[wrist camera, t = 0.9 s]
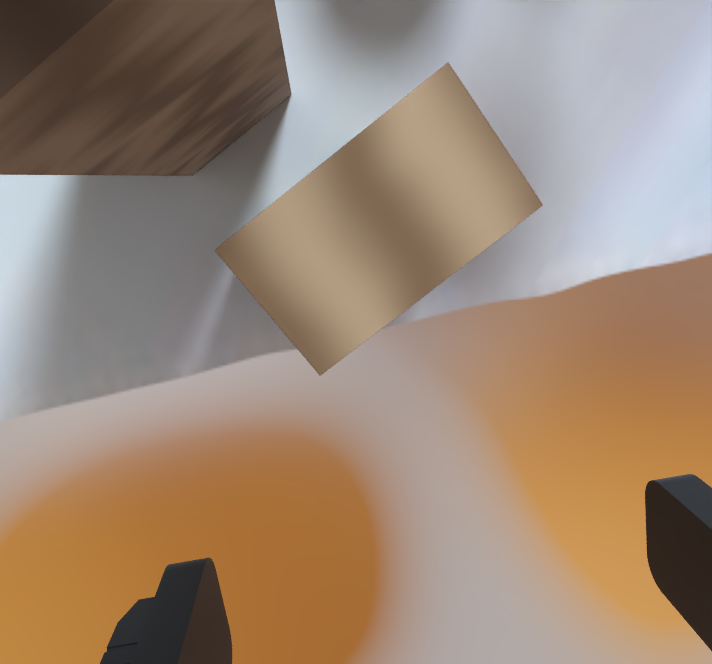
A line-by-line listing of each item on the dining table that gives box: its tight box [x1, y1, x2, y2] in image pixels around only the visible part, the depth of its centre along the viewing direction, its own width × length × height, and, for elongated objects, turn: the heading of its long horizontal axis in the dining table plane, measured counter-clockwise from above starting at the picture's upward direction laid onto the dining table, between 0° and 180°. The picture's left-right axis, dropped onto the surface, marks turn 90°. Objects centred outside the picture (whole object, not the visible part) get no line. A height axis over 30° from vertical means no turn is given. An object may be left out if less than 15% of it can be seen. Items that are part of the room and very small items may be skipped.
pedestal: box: [0, 0, 291, 176], centre depth 27 cm, size 9×9×32 cm
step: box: [215, 63, 543, 375], centre depth 35 cm, size 12×7×20 cm, turn 128°
